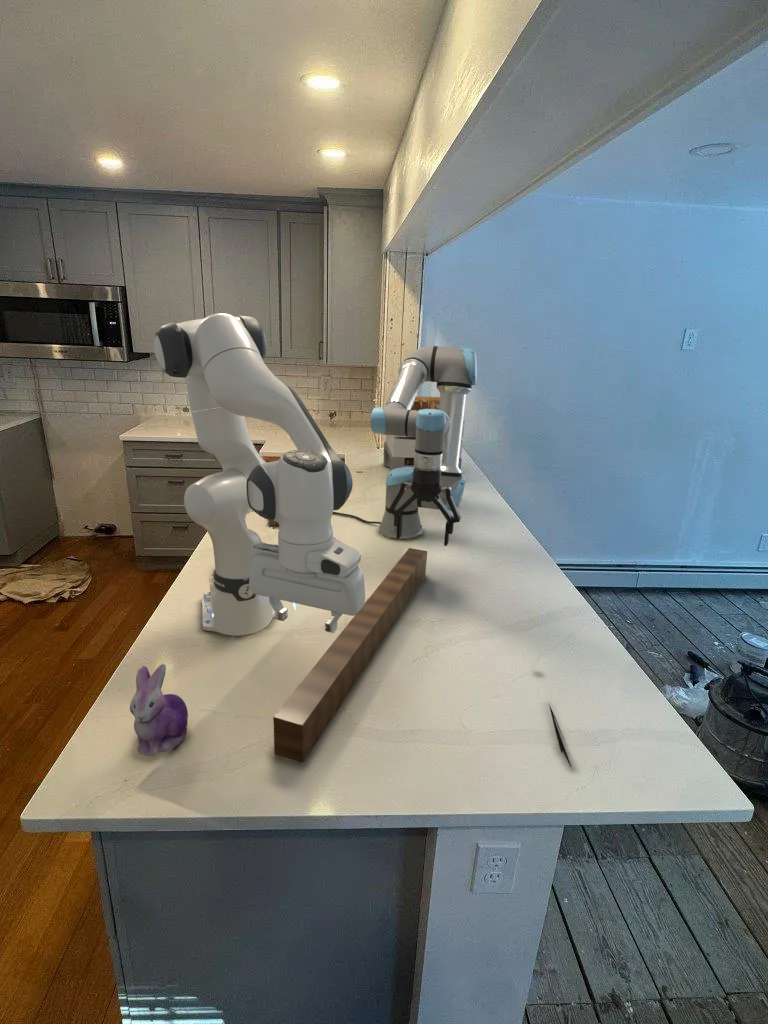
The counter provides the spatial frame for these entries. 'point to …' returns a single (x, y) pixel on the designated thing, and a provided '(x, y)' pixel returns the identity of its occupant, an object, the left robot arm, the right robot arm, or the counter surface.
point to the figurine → (157, 714)
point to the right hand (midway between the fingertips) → (422, 540)
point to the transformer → (409, 439)
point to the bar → (345, 661)
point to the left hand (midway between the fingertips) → (306, 624)
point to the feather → (559, 735)
